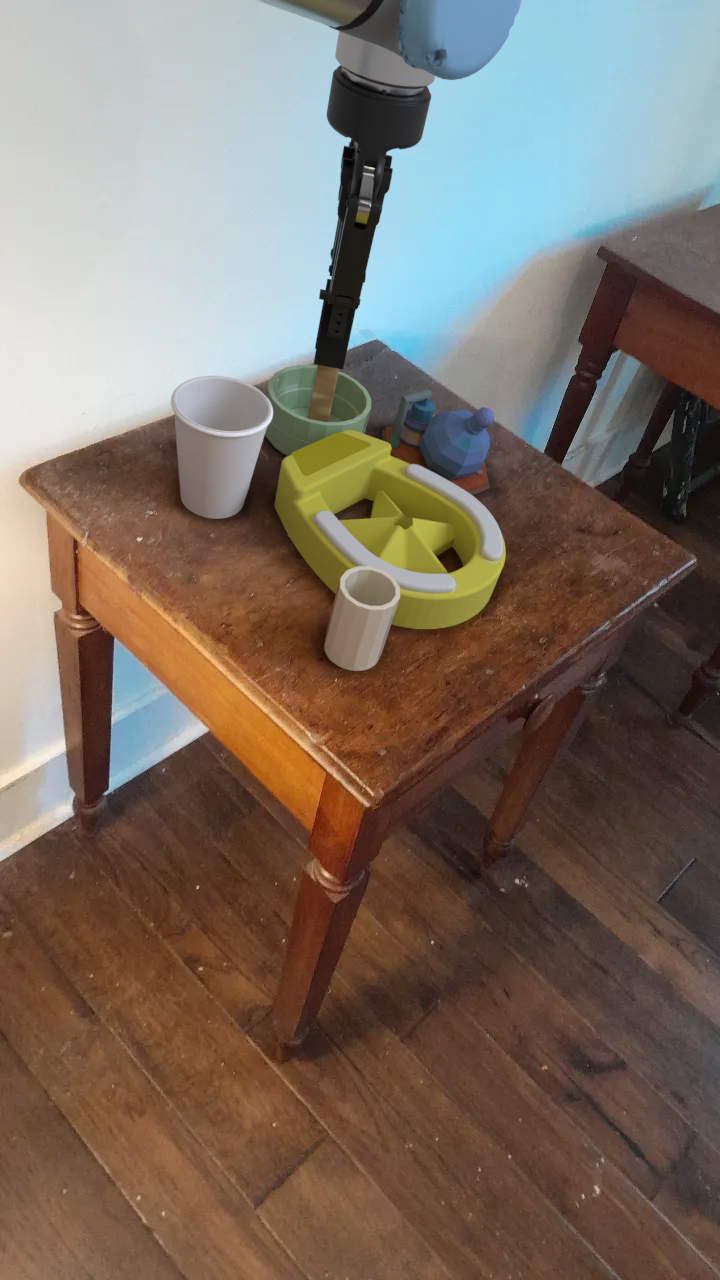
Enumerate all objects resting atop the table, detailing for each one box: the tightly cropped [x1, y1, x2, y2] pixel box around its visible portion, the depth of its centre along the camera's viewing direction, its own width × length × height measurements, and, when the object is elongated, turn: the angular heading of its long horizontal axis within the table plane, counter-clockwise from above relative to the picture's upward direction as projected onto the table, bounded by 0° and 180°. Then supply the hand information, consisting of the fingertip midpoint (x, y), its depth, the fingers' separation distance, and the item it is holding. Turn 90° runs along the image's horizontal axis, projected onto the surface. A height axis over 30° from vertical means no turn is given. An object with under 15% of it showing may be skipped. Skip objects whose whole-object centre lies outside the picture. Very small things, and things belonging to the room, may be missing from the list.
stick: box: [307, 364, 340, 422], centre depth 87 cm, size 2×2×16 cm
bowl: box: [264, 364, 372, 457], centre depth 92 cm, size 10×10×5 cm
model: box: [380, 389, 495, 496], centre depth 92 cm, size 12×9×9 cm
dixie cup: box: [170, 375, 273, 520], centre depth 81 cm, size 8×8×10 cm
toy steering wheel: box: [274, 430, 507, 630], centre depth 83 cm, size 16×21×5 cm
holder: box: [323, 566, 400, 672], centre depth 73 cm, size 5×5×7 cm
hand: (329, 356), depth 87 cm, fingers closed on stick, 2 cm apart
